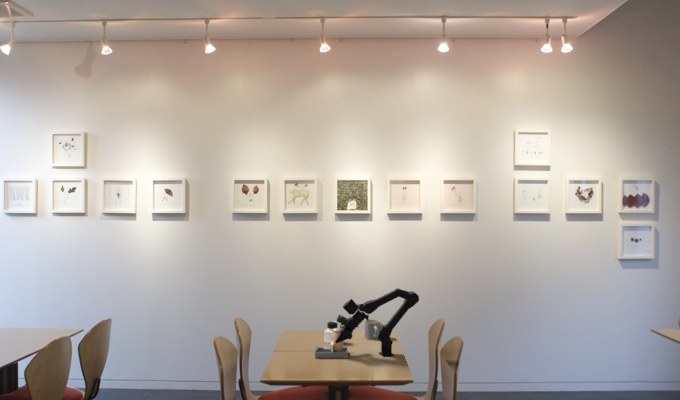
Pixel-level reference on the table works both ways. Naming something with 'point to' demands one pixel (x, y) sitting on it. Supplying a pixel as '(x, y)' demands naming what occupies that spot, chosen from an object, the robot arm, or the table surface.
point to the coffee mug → (372, 329)
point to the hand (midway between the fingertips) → (335, 341)
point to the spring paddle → (330, 347)
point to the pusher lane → (330, 353)
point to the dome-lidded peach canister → (336, 332)
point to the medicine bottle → (329, 332)
